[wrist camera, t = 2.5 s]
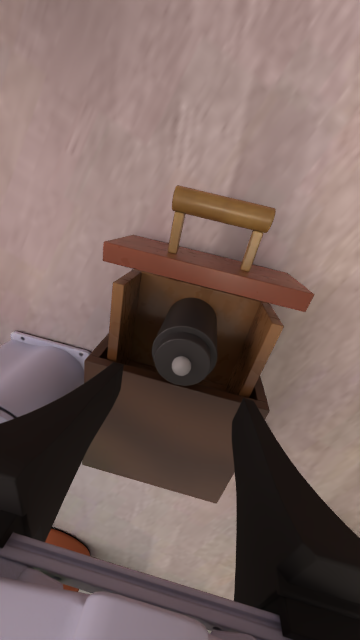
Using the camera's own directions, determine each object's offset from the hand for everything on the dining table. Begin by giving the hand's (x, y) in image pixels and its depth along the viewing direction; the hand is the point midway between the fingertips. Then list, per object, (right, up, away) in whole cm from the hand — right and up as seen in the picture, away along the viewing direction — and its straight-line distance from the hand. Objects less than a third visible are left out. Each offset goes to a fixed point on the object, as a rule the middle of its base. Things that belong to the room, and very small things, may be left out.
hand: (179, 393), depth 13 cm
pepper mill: (+1, +4, +7) cm, 8 cm away
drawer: (+2, +6, +7) cm, 9 cm away
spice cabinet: (-1, -3, +13) cm, 13 cm away
